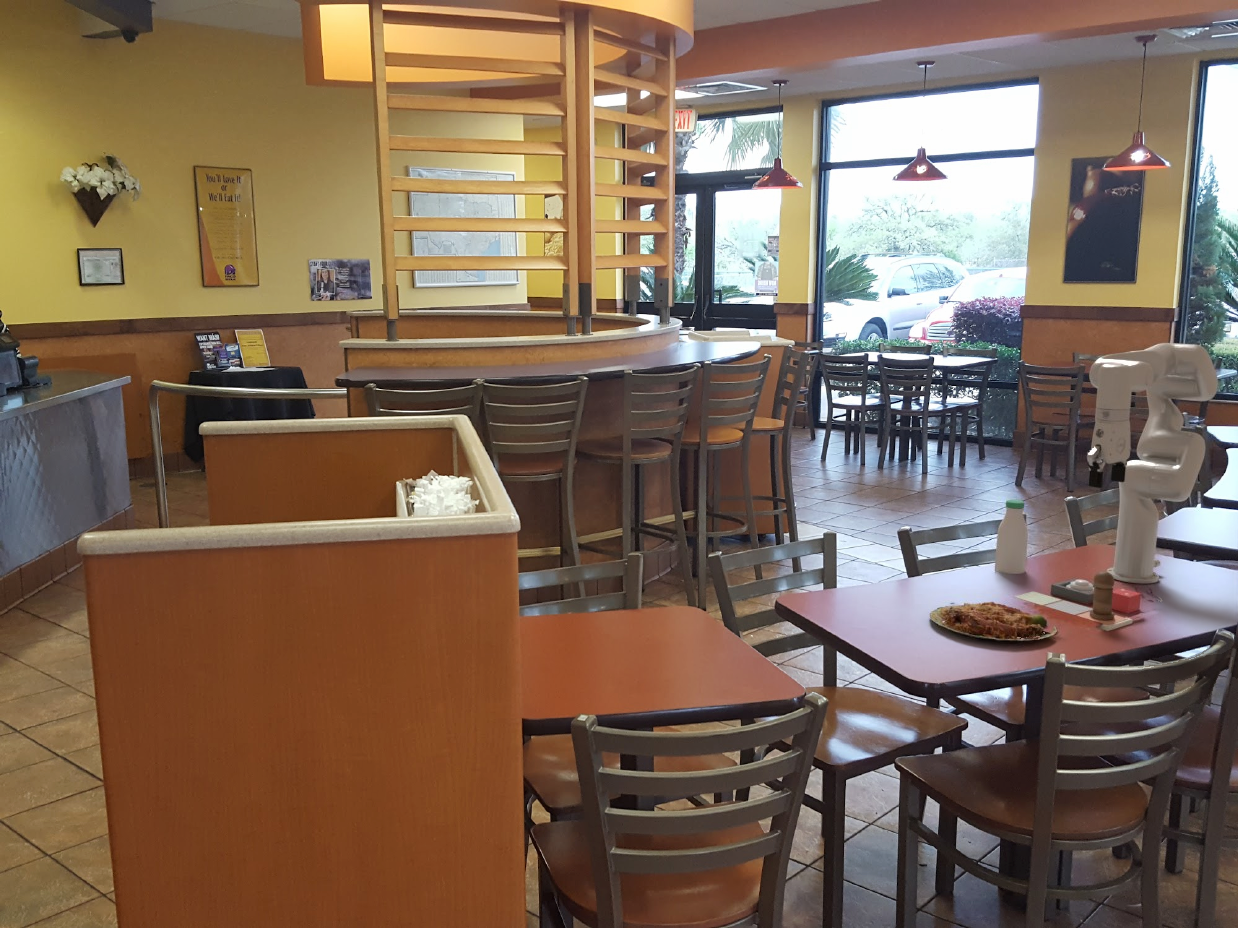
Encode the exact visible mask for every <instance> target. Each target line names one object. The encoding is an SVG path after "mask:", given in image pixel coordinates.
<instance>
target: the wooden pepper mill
mask: <svg viewBox="0 0 1238 928" xmlns="http://www.w3.org/2000/svg"><path fill="white" fill-rule="evenodd" d="M1093 583H1094V585H1095V586H1094V598H1093V603H1092V609H1093V610H1090V611H1089V612H1090V617H1091V618H1094V619H1098V620H1113V619H1114V615H1115V612H1113V609H1112V598H1113V591H1114V588H1113V587H1114V585H1115V579H1114V578H1113V576H1112V575H1111V574H1110V573H1108V572H1107V571H1099V572H1098V573H1096V574H1095V575H1094V577H1093Z"/></svg>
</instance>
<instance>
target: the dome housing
mask: <svg viewBox="0 0 1238 928" xmlns="http://www.w3.org/2000/svg"><path fill="white" fill-rule="evenodd" d="M1075 580H1081V579H1080V578H1075V577H1074V578H1072V579H1067V580H1064V581H1063V580H1062V581H1060V582H1056V583H1052V584H1051V585H1050V595H1053V596H1056V597H1060V598H1063V599H1067V600H1071V601H1074V602H1077V603H1081V604H1085V605H1091V604H1093V598H1094V591H1091V592H1088V593H1086V592H1082V591H1079V590H1075V589H1072V588H1068V587H1066V586H1067V585H1069V584H1070V583H1071V582H1073V581H1075ZM1088 582H1089V583H1091V584H1092V585H1093V587H1094V586H1095V585H1094V582H1090V581H1088Z"/></svg>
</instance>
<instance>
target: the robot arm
mask: <svg viewBox="0 0 1238 928" xmlns="http://www.w3.org/2000/svg"><path fill="white" fill-rule="evenodd" d="M1088 377H1089V381H1090V383H1091V385H1092V386H1093V387H1094V388H1096V389H1097V391H1096V405H1095V414H1094V415H1095V416H1094V417H1095V418H1094V421H1095V422H1094V423H1095V424H1094V427H1093V433H1092V439H1091V446H1090V447H1091V448H1090V450H1089V452H1087V455H1086V459H1087V465H1088V470H1089V474H1088V475H1089V476H1088V477H1089V479H1088V486H1089V487H1091V488H1098V489H1102V488H1103V483H1104V481H1103V480H1104V472H1103V469H1104V467H1105V465H1106V464H1109V465H1111V464H1112V465H1111V477H1110V480H1111V481H1112V482H1113V481H1114V482H1118V487H1119V488H1118V490H1119V509H1118V520H1117V531H1116V540H1115V549H1114V551H1115V553H1114V560H1113V567H1109V568H1107V570H1106V572H1108V573H1110V574H1111V575H1112V576H1113V578H1114V580H1117V581H1121V582H1125V583H1126V582H1127V583H1131V584H1144V585H1145V584H1155V583H1157V582H1159V580H1160V576H1159V575H1158V573H1156V572H1154V569H1155V568H1157V567H1160V566H1161V561H1160V560H1159V559H1155V555H1156V547H1157V541H1158V540H1157V537H1158V530H1159V529H1158V528H1159V520H1160V519H1159V518H1160V514H1159V511H1158V508H1157V507H1156V504H1155V503H1154V502H1153V500H1160V501H1167V502H1168V501H1169V502H1176V503H1177V502H1179V503H1180V502H1184V501H1186V500H1187V499H1188V498H1189V497H1190V496H1191V493H1192V491H1193V488H1194V486H1195V484H1196V481H1197V478H1198V475H1199V473H1200V471H1201V467H1202V465H1203V462H1204V459H1205V455H1206V442H1205V439H1204V438H1203V436H1202V435H1201V434H1199V433H1197V432H1193V431H1185V430H1182V428H1183V426H1184V421H1185V419H1184V416H1183V415H1182V412H1181V411H1180V409H1179V407H1177V405H1176V404H1174V402H1173V401H1172V399H1173V400H1182V401H1194V402H1195V401H1196V402H1206V401H1210V400H1212V399H1213V398H1214V397H1215V396H1216V394H1217V392H1218V388H1219V380H1218V375H1217V372H1216V369H1215V366H1214V364H1213V361H1212V358H1211V356H1210V354H1209V352H1208V351H1207V349H1206V348H1205V347H1203V346H1202V345H1200V344H1193V343H1191V344H1190V343H1175V342H1172V343H1171V342H1161V343H1157V344H1155V345H1152V346H1150V347H1148V348H1145V349H1144V350H1143V349H1141V350H1134V351H1133V350H1132V351H1127V352H1119V353H1113V354H1112V353H1111V354H1106V355H1103V356H1101V357H1099V358H1097V359H1096V360H1095V361H1094V362H1093V364H1091V367H1090V369H1089V375H1088ZM1144 391H1145V392H1146V399H1147V405H1148V411H1149V412H1148V418H1147V420H1146V422H1145V426H1144V428H1143V430H1142V433H1141V435H1140V437H1139V441H1138V443H1137V446H1136V455H1137V457H1138V458H1139V459H1132V460H1129V458H1130V455H1131V450H1132V446H1131V438H1132V437H1131V434H1132V433H1131V421H1130V415H1131V403H1132V393H1133V392H1134V393H1141V392H1144Z"/></svg>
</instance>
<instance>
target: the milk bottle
mask: <svg viewBox="0 0 1238 928" xmlns="http://www.w3.org/2000/svg"><path fill="white" fill-rule="evenodd" d="M1005 509H1006V511H1005V514H1004V517H1003V519H1001V522H1000V524H999V526H998V529H997V536H996V538H997V539H996V545H995V546H996V548H995V549H996V550H995V561H994V571H995V573H999V572H1000V573H1002V574H1003V573H1004V574H1009V575H1010V574H1011V575H1013V574H1014V575H1019V574H1024V573H1025V572H1026V566H1027V556H1028V555H1027V553H1028V552H1027V551H1028V542H1029V539H1028V537H1029V531H1028V526H1027V524H1026V521H1025V517H1024V510H1025V502H1024V500H1023V501H1022V500H1019V499H1007V500H1006V502H1005Z"/></svg>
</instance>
